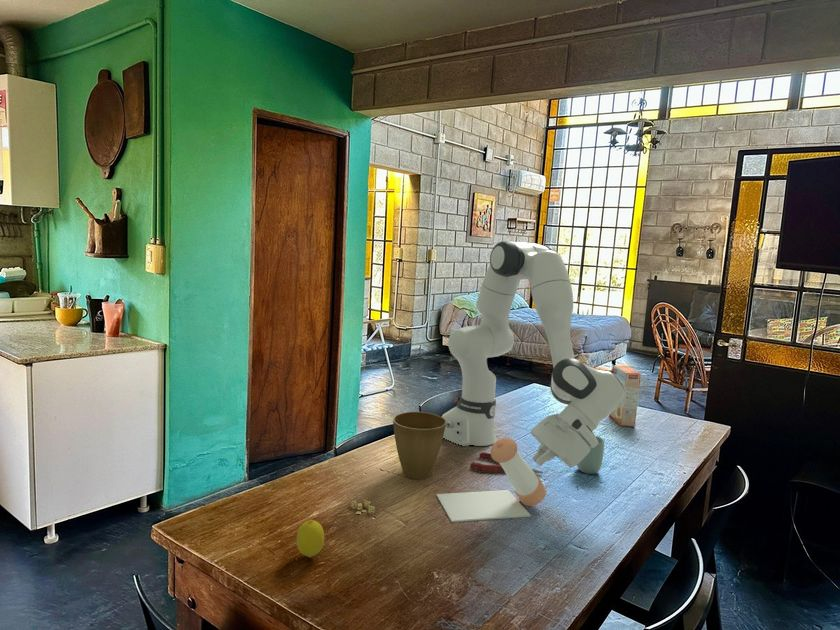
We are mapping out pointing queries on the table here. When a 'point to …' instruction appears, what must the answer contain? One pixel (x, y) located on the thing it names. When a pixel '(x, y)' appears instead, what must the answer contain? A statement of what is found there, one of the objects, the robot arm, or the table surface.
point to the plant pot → (418, 441)
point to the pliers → (491, 466)
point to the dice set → (366, 505)
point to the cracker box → (627, 396)
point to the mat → (481, 505)
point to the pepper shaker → (518, 472)
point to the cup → (593, 459)
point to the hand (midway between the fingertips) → (536, 462)
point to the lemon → (310, 538)
